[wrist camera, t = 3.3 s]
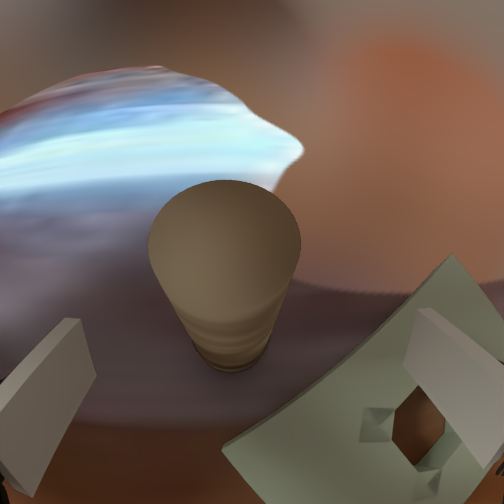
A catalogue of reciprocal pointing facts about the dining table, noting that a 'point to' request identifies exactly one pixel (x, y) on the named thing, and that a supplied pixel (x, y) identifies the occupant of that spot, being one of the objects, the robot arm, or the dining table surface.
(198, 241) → the peg
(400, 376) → the seat plank
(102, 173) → the dining table surface
